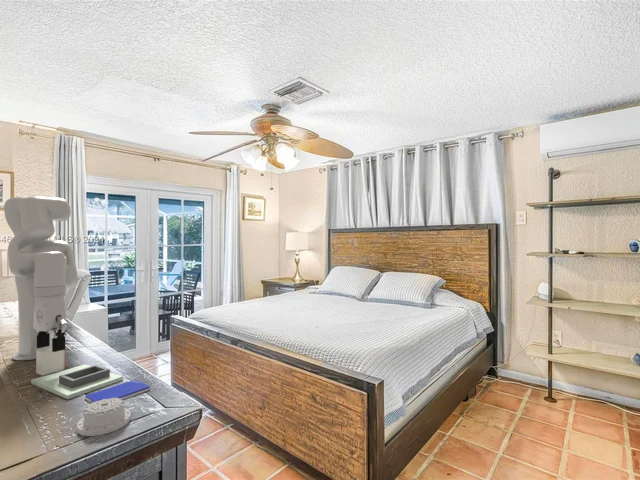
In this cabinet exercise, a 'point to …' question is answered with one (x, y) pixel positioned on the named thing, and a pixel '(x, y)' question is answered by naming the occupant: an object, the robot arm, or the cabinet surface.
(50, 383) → the socket board
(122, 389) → the hard drive
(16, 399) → the cabinet surface
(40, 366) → the plug
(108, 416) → the mechanical component
